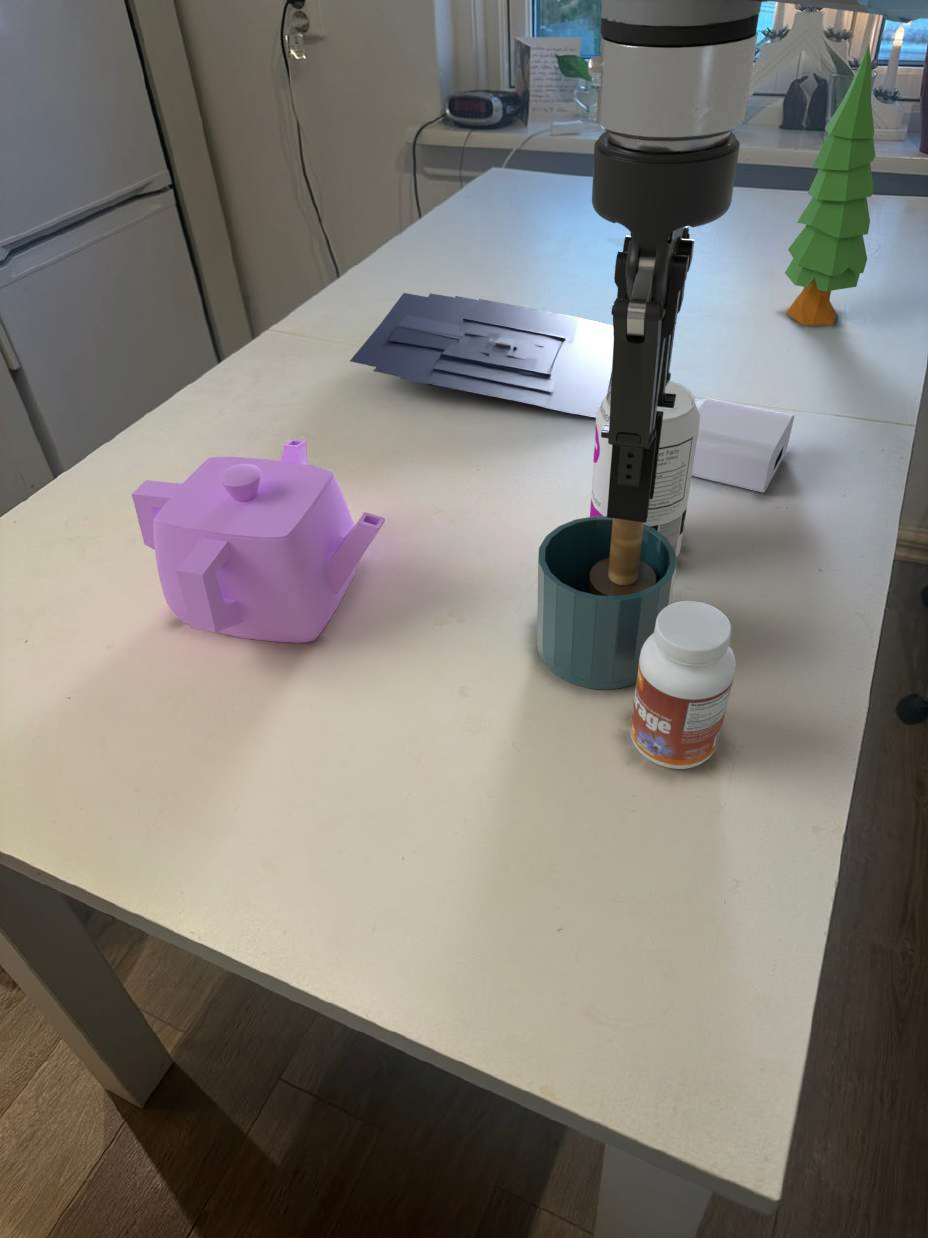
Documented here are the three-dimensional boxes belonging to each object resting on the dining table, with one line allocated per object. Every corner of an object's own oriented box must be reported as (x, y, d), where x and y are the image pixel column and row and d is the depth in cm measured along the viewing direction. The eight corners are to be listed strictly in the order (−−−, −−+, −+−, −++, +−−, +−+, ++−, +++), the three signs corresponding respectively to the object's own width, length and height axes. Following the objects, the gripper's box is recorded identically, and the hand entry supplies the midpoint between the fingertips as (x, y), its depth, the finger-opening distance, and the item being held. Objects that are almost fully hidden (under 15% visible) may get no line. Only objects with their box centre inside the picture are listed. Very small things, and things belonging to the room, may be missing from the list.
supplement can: (571, 558, 78) (579, 407, 68) (614, 513, 83) (627, 365, 73) (655, 589, 75) (675, 434, 65) (694, 539, 80) (719, 388, 70)
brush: (660, 640, 67) (693, 406, 54) (598, 652, 67) (616, 418, 53) (636, 599, 71) (662, 371, 58) (577, 610, 70) (590, 381, 57)
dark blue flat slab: (407, 306, 119) (408, 280, 117) (624, 347, 115) (630, 320, 112) (344, 390, 102) (343, 361, 99) (597, 441, 98) (603, 412, 95)
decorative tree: (806, 297, 118) (864, 33, 98) (869, 316, 113) (944, 42, 93) (762, 318, 114) (814, 47, 94) (827, 340, 108) (896, 57, 88)
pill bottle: (614, 719, 64) (626, 605, 57) (689, 697, 65) (710, 582, 58) (655, 783, 60) (674, 669, 52) (734, 757, 61) (763, 642, 54)
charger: (648, 421, 96) (786, 451, 90) (616, 462, 90) (762, 497, 84) (652, 381, 93) (796, 410, 87) (619, 421, 87) (771, 455, 81)
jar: (683, 676, 67) (699, 585, 61) (558, 700, 66) (561, 611, 60) (636, 594, 74) (646, 507, 68) (523, 615, 73) (523, 527, 67)
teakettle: (149, 575, 79) (106, 458, 71) (321, 514, 85) (299, 399, 77) (208, 690, 68) (165, 566, 60) (401, 611, 74) (386, 488, 66)
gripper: (621, 96, 52) (598, 443, 68) (564, 170, 41) (553, 562, 57) (751, 98, 50) (697, 455, 66) (728, 176, 39) (669, 580, 55)
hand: (630, 504), depth 61 cm, fingers closed on brush, 2 cm apart
